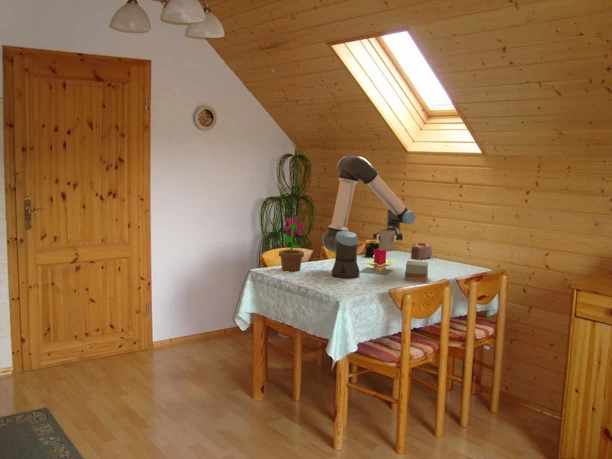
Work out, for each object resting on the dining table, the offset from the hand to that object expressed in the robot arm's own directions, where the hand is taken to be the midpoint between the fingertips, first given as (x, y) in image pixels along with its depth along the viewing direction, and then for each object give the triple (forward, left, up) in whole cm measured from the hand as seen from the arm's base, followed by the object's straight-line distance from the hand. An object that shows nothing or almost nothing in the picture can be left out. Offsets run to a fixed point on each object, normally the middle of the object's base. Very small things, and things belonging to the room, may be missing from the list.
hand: (386, 238), depth 335 cm
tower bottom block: (+16, -7, -22) cm, 28 cm away
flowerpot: (-38, +37, -22) cm, 57 cm away
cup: (+3, +4, -6) cm, 8 cm away
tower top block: (+16, -7, -17) cm, 24 cm away
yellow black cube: (+29, +59, -22) cm, 69 cm away
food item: (+56, +44, -22) cm, 74 cm away
